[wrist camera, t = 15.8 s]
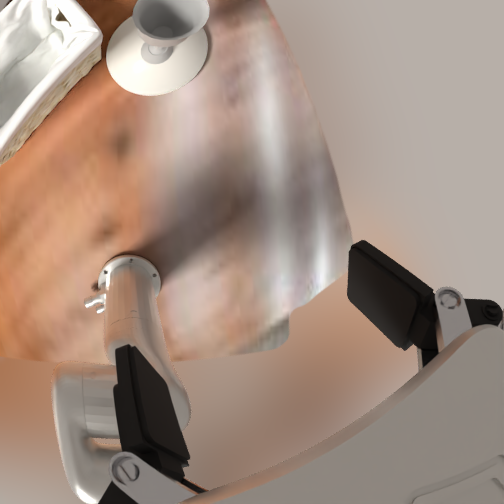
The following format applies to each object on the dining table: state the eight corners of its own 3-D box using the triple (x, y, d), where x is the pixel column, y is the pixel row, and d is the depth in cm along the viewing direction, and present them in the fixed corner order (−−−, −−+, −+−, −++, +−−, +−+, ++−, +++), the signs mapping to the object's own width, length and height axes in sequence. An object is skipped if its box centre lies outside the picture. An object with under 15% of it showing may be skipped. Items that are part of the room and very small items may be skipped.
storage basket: (66, 4, 19) (45, -32, 8) (116, 57, 29) (107, 32, 18) (-29, 112, 20) (-76, 121, 8) (16, 167, 30) (-25, 193, 18)
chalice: (129, 68, 30) (124, 38, 16) (138, 30, 27) (143, -18, 13) (175, 71, 33) (201, 45, 19) (184, 33, 31) (216, -10, 16)
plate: (119, 110, 34) (118, 110, 33) (99, 26, 25) (98, 24, 24) (214, 80, 38) (216, 80, 37) (196, 1, 29) (197, -1, 28)
